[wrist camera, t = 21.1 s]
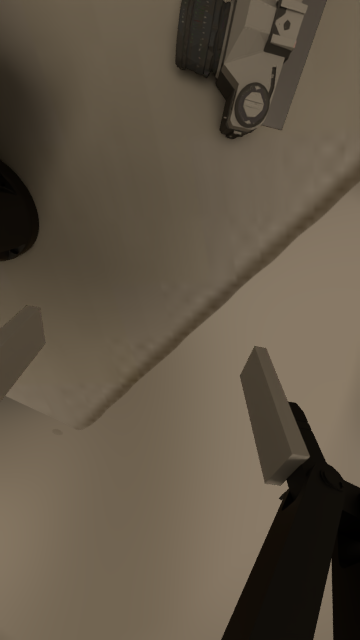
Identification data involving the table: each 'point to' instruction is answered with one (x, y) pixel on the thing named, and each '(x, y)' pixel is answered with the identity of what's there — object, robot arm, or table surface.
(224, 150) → the table surface
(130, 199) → the table surface
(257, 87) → the camera
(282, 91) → the strip
